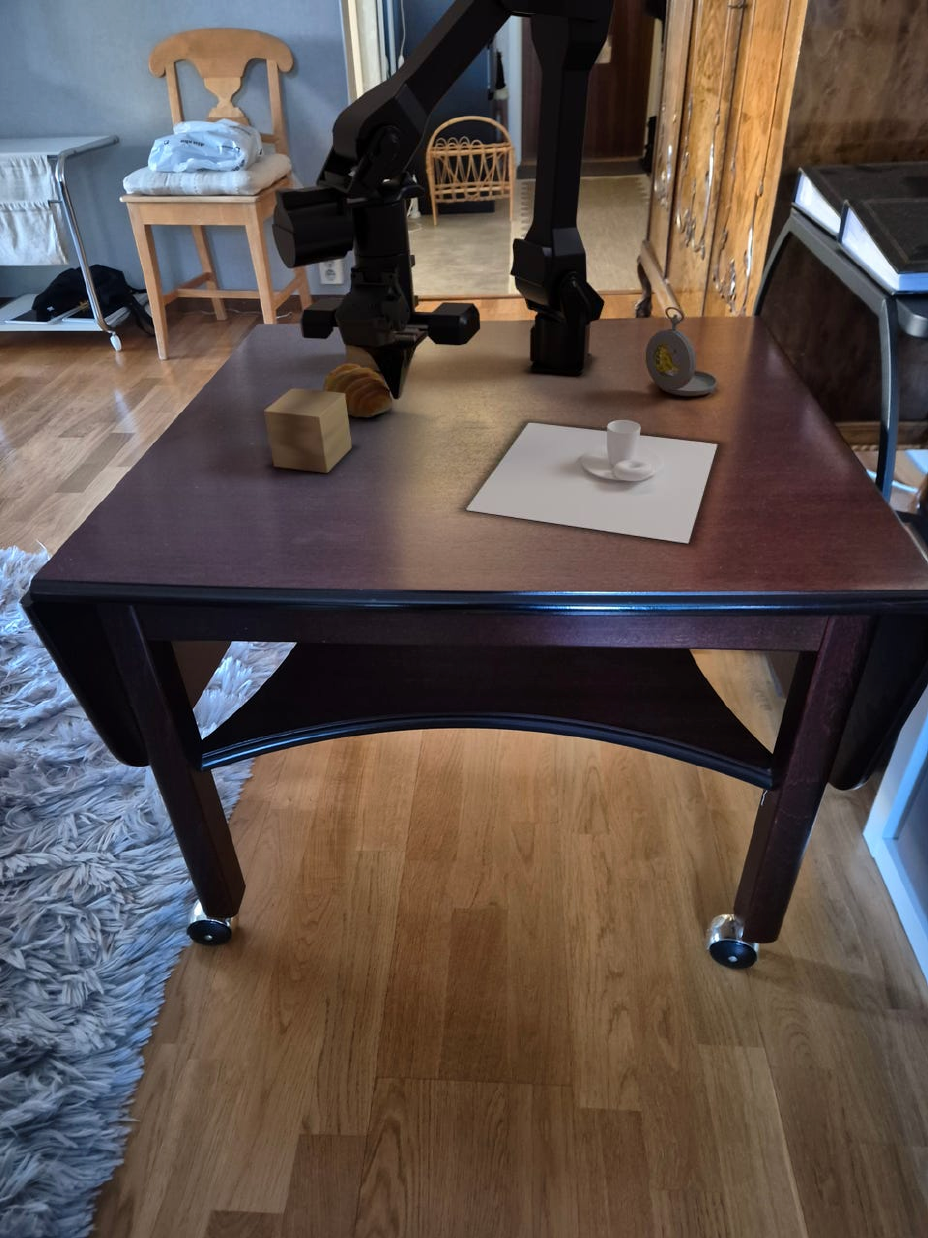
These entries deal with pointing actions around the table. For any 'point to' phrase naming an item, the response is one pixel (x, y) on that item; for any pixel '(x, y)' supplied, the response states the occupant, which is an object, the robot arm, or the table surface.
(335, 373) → the pastry
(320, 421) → the block
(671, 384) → the pocket watch
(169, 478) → the table surface
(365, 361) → the block
